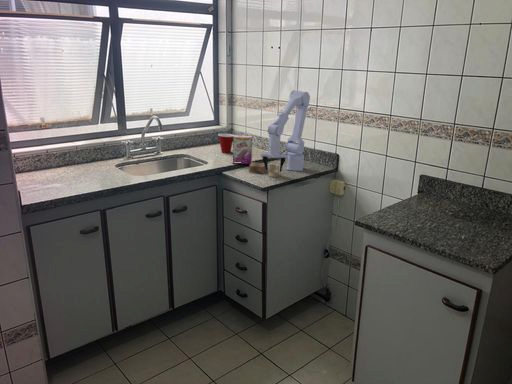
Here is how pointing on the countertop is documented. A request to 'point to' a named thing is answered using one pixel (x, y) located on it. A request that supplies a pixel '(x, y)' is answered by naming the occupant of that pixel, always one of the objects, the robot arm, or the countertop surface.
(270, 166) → the maple block
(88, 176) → the countertop surface
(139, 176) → the countertop surface
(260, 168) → the walnut block
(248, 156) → the candy bar box
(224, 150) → the plastic cup
